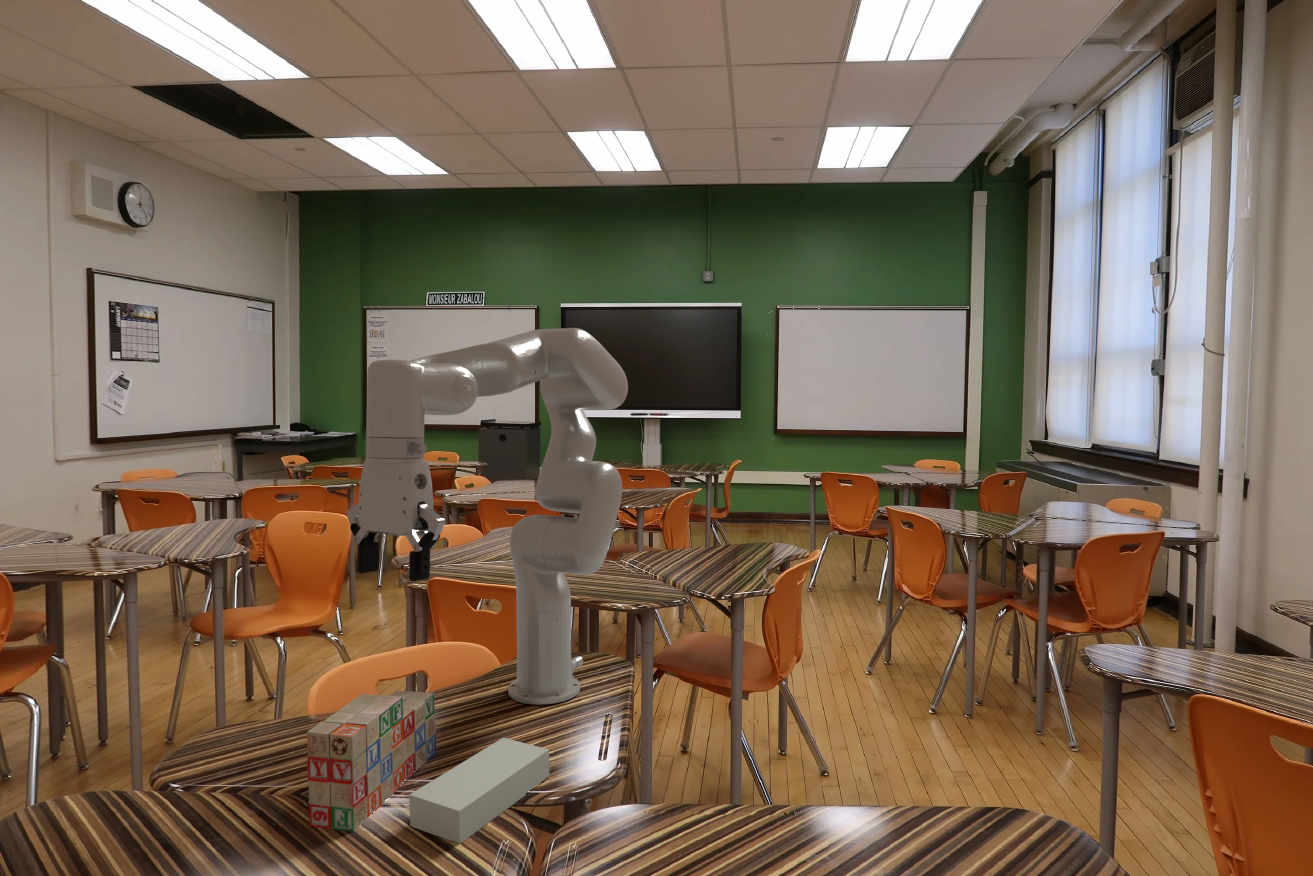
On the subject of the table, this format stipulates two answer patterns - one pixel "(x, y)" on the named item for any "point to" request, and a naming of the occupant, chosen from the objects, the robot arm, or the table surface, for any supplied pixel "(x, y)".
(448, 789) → the base block
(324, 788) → the stack of blocks
